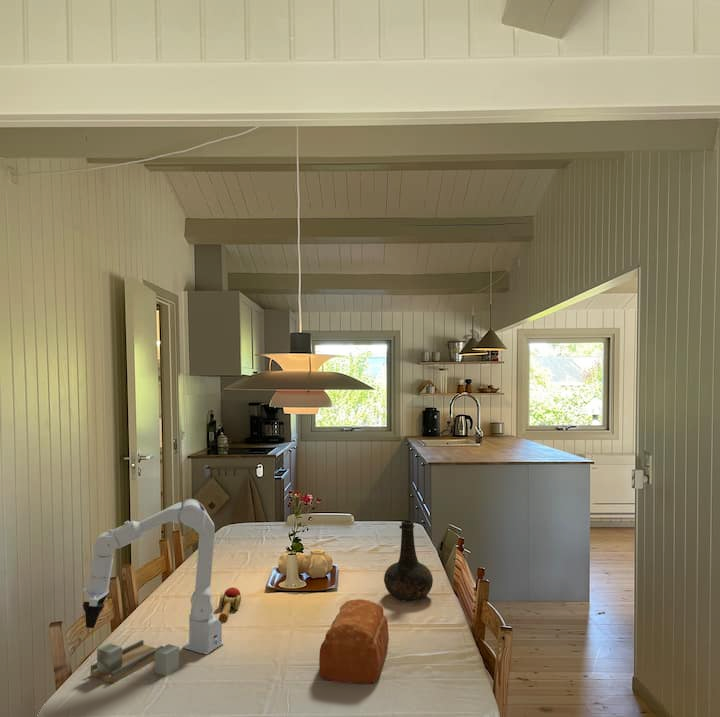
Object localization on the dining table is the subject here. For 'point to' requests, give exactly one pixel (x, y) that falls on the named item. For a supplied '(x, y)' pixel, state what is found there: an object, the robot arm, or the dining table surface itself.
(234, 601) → the kendama
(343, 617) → the bread
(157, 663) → the block
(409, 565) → the glass bottle
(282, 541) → the dining table surface
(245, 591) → the dining table surface
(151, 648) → the jaw track
